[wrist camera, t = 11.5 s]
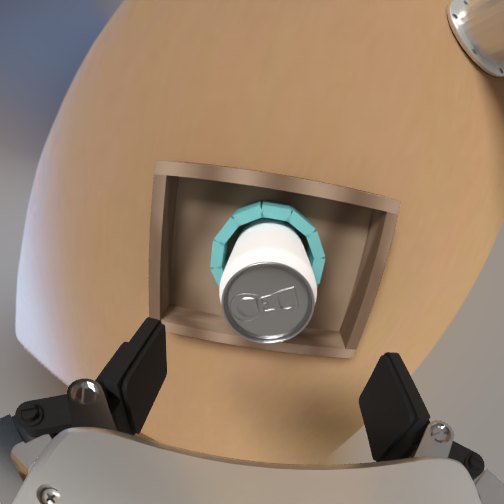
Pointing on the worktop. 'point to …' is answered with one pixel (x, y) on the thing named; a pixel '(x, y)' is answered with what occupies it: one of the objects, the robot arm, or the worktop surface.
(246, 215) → the inlet collar
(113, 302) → the worktop surface
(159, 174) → the walled box
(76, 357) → the worktop surface
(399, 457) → the robot arm
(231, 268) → the can
